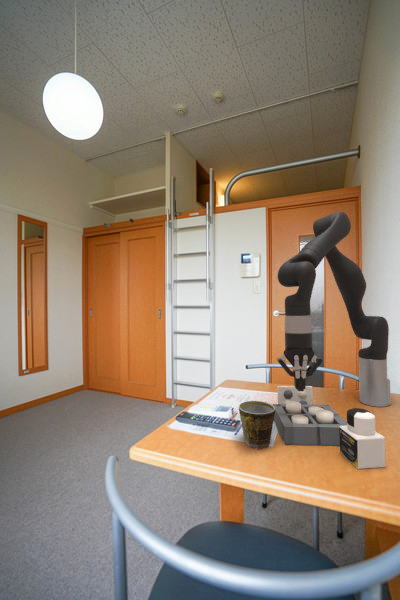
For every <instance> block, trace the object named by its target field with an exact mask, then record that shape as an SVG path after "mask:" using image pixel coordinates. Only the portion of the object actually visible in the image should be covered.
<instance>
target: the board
mask: <svg viewBox="0 0 400 600" xmlns="http://www.w3.org/2000/svg"><path fill="white" fill-rule="evenodd" d="M272 405H273V406H274V407H275V416H274V422H273V423H274V424H275V426H276V429H277V431H278V433H279V435H280V437H281V439H282V442H283V444H284V445H285V446H309V447H310V446H314V447H315V446H317V447H318V446H321V447H340V434H339V427H340V426H345V425H347V420H345V419H344V418H343V417H342V416H341V415H340V414H338V413H337V411H336V410H334V408H332V406H331V405H329V404H313V405H310V404H301V414H286V404H278V403H272ZM312 406H316V407H321V408H323V409H324V410H328V411H331V412H332V413H333V418H334V424H317V422H316V414H309V411H308V408H309V407H312ZM293 415H303V416H306V417H307V418H308V424H292V416H293Z"/></svg>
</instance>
